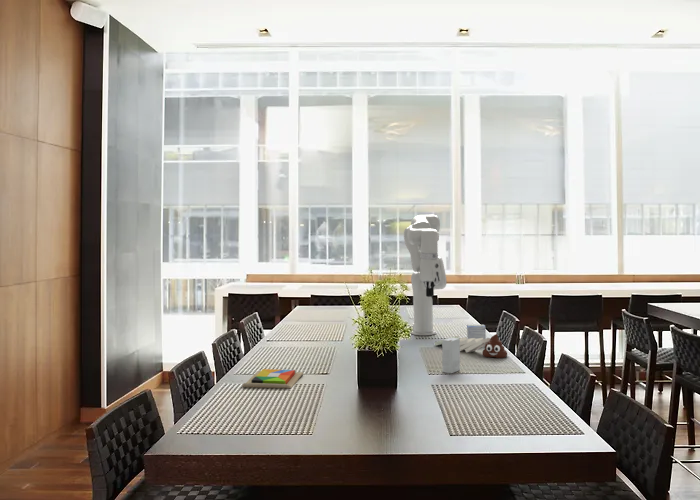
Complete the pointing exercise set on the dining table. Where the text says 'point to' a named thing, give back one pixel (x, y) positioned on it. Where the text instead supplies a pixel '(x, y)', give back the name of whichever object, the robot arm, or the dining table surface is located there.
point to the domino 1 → (443, 339)
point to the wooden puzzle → (273, 379)
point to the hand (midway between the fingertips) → (430, 296)
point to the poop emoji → (494, 348)
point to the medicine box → (476, 331)
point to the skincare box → (451, 355)
